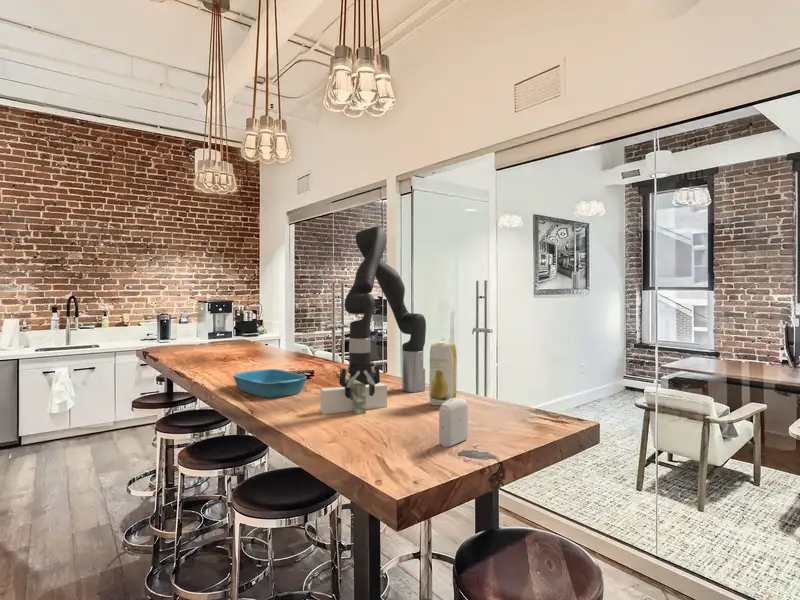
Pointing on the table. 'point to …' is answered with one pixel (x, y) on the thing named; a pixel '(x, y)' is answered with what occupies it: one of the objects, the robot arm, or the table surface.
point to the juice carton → (442, 372)
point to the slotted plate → (358, 396)
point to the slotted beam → (350, 399)
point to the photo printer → (453, 422)
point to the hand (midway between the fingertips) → (359, 396)
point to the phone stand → (369, 374)
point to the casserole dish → (270, 382)
